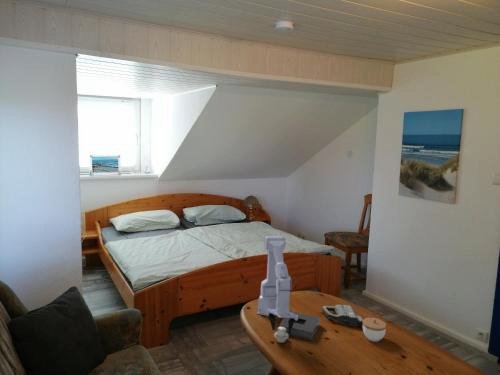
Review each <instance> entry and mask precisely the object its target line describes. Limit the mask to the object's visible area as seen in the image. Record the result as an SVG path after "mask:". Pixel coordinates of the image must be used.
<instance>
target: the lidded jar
mask: <svg viewBox="0 0 500 375" xmlns="http://www.w3.org/2000/svg"><path fill="white" fill-rule="evenodd" d="M386 331H387V323H386V322H385V321H383V320H382V319H379V318H376V317H365V318H364V319H363V327H362V332H363V334H364V336H365V338H366V339H367V340H368V341H370V342H373V343H374V342H375V343H376V342H380V341H381V340H383V338H384V337H385V335H386Z"/></svg>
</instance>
